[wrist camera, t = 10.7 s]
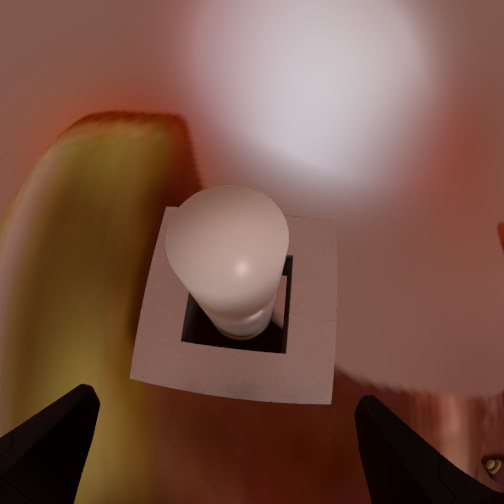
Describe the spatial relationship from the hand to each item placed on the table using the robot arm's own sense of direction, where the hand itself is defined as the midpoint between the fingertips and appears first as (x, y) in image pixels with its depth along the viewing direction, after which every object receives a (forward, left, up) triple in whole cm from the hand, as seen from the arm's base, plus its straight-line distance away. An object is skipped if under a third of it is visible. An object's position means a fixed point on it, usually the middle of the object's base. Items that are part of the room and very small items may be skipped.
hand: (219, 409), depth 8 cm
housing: (+6, +1, -12) cm, 14 cm away
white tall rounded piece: (+6, +1, -12) cm, 14 cm away
